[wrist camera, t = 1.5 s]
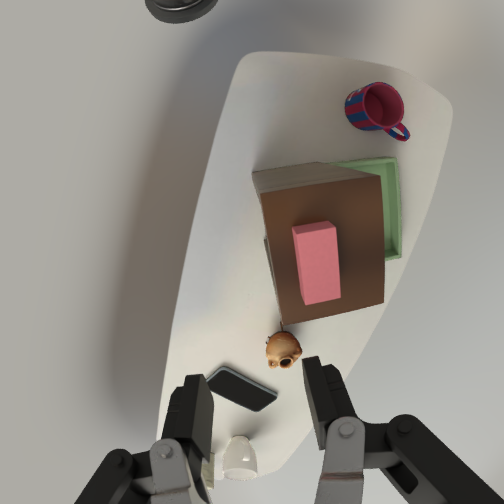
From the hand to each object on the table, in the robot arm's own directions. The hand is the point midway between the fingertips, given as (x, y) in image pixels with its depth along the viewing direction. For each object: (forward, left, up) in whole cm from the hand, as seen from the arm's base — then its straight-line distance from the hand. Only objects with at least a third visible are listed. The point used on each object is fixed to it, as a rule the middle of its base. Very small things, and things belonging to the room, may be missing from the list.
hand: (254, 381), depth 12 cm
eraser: (0, +6, -12) cm, 13 cm away
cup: (-12, +22, -34) cm, 42 cm away
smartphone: (+36, -8, -33) cm, 50 cm away
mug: (+55, -12, -34) cm, 66 cm away
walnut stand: (0, +7, -33) cm, 34 cm away
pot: (+23, +2, -34) cm, 41 cm away
